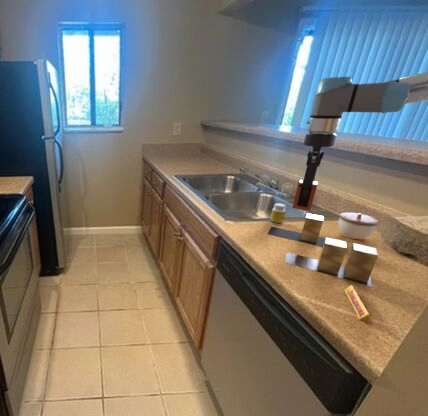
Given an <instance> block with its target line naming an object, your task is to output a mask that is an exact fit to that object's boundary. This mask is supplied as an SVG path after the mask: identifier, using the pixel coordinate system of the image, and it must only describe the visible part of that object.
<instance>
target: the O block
mask: <svg viewBox="0 0 428 416" xmlns="http://www.w3.org/2000/svg"><path fill="white" fill-rule="evenodd" d="M324 218H325V217H324V215H318V214H312V213H306V216H305V219H304V223H303V227H302V230H301V231H302V232H301V233H302V234H301V237H300V240H304V241H309V242H313V243H317V240H318V237H320V233H321V229H322V227H323V223H324Z"/></svg>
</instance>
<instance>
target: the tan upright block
mask: <svg viewBox="0 0 428 416" xmlns="http://www.w3.org/2000/svg"><path fill="white" fill-rule="evenodd" d="M324 238H325V241H324V244H323V247H321V251H320V253H319V257H318V259H317V260H318V266H317V269H319V270H323V271H326V272H330V273H333V274H337V275H338V273H339V270H340V267H341V266H342V264H343V261H344V258H345V256H346V253H347V250H348V243H347V241H344V240H341V239H335V238H331V237H326V236H325V237H324Z"/></svg>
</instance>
